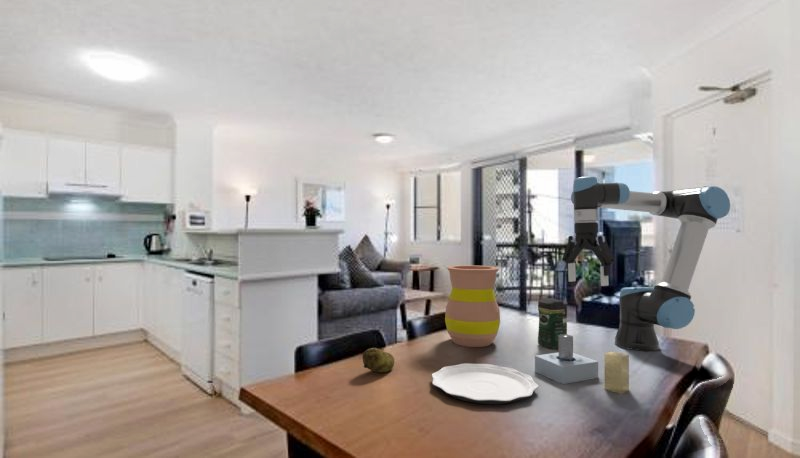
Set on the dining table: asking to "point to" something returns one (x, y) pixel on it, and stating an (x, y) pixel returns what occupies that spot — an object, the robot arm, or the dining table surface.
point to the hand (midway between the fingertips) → (587, 283)
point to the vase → (472, 306)
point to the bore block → (566, 368)
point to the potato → (378, 360)
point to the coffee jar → (550, 322)
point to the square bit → (617, 372)
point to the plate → (484, 383)
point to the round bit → (565, 347)
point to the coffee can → (565, 318)
